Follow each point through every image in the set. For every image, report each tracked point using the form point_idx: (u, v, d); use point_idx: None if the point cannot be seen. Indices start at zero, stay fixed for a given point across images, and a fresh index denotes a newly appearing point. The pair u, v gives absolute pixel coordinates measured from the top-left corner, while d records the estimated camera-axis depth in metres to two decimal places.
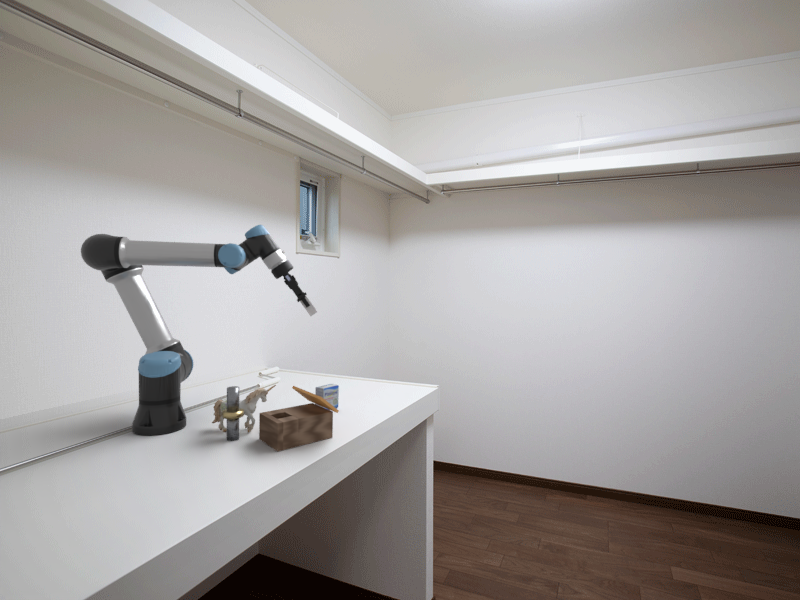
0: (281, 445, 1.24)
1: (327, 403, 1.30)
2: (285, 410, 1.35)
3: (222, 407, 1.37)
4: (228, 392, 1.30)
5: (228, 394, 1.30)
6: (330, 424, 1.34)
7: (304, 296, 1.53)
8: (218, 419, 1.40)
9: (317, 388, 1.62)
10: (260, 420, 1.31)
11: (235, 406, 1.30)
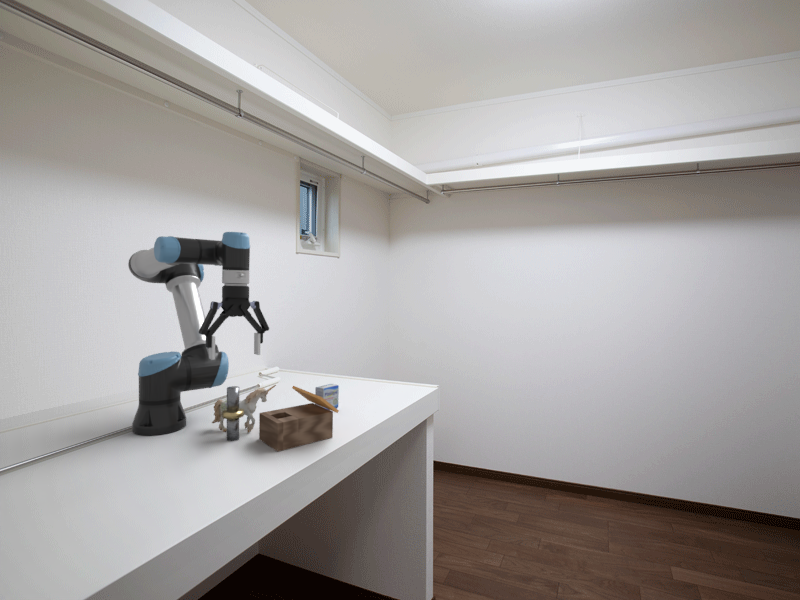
0: (281, 445, 1.24)
1: (327, 403, 1.30)
2: (285, 410, 1.35)
3: (222, 407, 1.37)
4: (228, 392, 1.30)
5: (228, 394, 1.30)
6: (330, 424, 1.34)
7: (207, 335, 1.25)
8: (218, 419, 1.40)
9: (317, 388, 1.62)
10: (260, 420, 1.31)
11: (235, 406, 1.30)
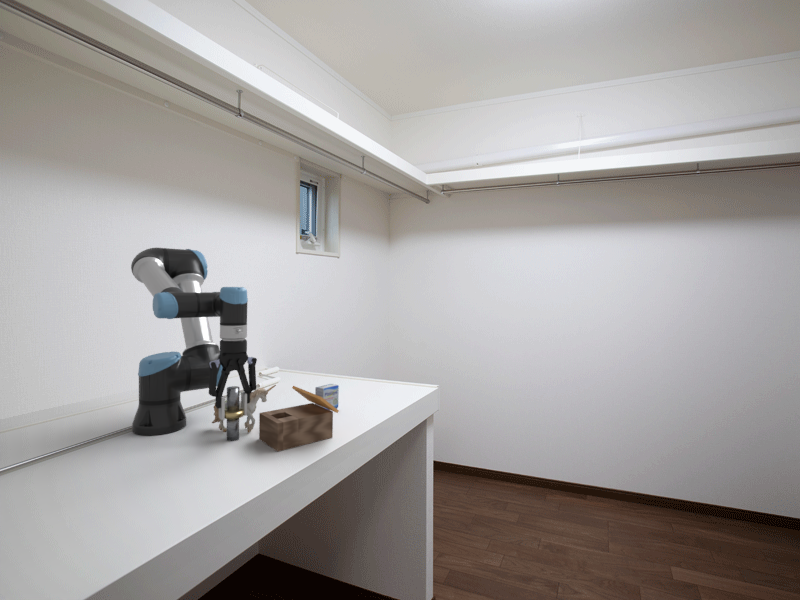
0: (281, 445, 1.24)
1: (327, 403, 1.30)
2: (285, 410, 1.35)
3: None
4: (228, 392, 1.30)
5: (228, 394, 1.30)
6: (330, 424, 1.34)
7: (217, 396, 1.27)
8: (218, 419, 1.40)
9: (317, 388, 1.62)
10: (260, 420, 1.31)
11: (235, 406, 1.30)
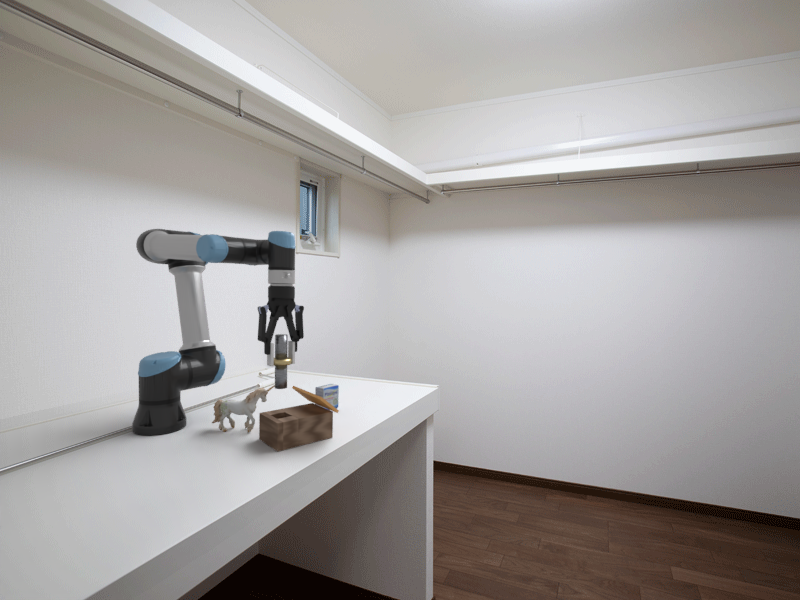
0: (281, 445, 1.24)
1: (327, 403, 1.30)
2: (285, 410, 1.35)
3: (222, 407, 1.37)
4: (277, 339, 1.27)
5: (277, 341, 1.27)
6: (330, 424, 1.34)
7: (266, 342, 1.25)
8: (218, 419, 1.40)
9: (317, 388, 1.62)
10: (260, 420, 1.31)
11: (284, 353, 1.28)
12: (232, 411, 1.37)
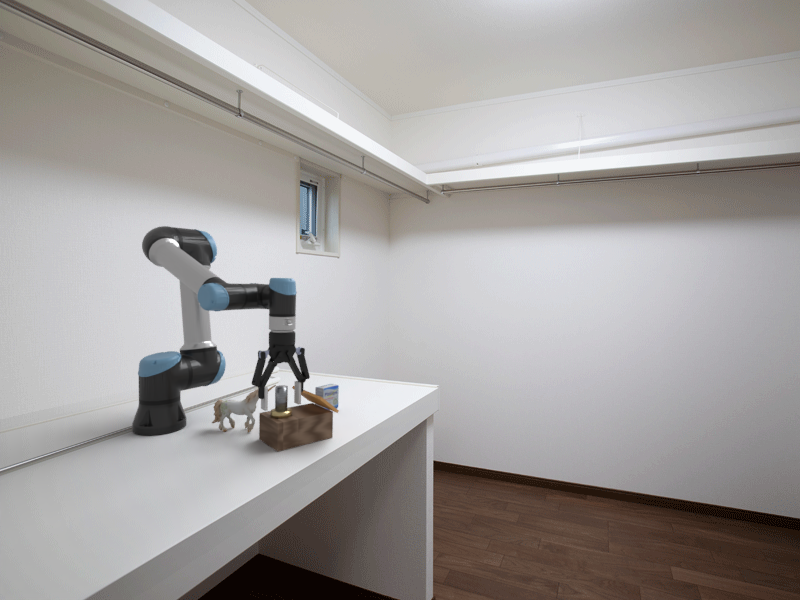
0: (281, 445, 1.24)
1: (327, 403, 1.30)
2: None
3: (222, 407, 1.37)
4: (277, 391, 1.28)
5: (277, 393, 1.28)
6: (330, 424, 1.34)
7: (260, 386, 1.24)
8: (218, 419, 1.40)
9: (317, 388, 1.62)
10: (260, 420, 1.31)
11: (284, 405, 1.28)
12: (232, 411, 1.37)
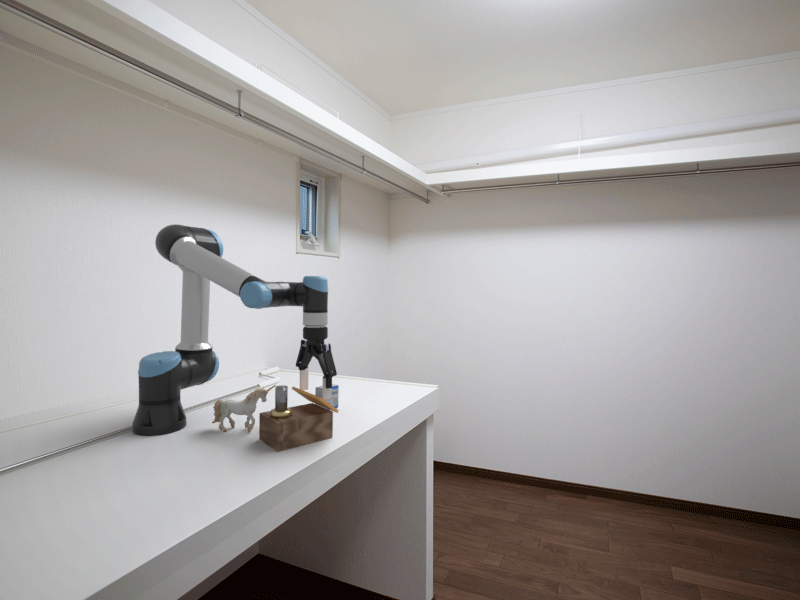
0: (281, 445, 1.24)
1: (327, 403, 1.30)
2: None
3: (222, 407, 1.37)
4: (277, 391, 1.28)
5: (277, 393, 1.28)
6: (330, 424, 1.34)
7: (332, 375, 1.31)
8: (218, 419, 1.40)
9: (317, 388, 1.62)
10: (260, 420, 1.31)
11: (284, 405, 1.28)
12: (232, 411, 1.37)
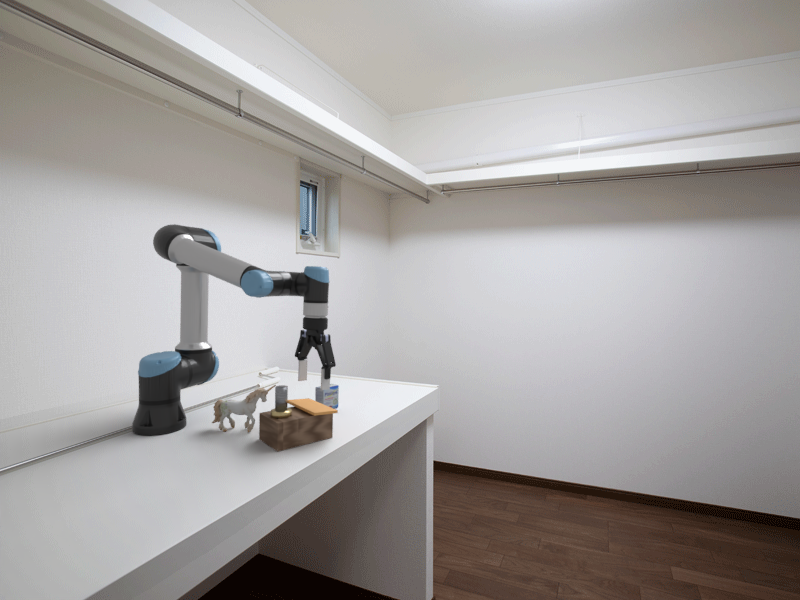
0: (281, 445, 1.24)
1: (323, 413, 1.29)
2: None
3: (222, 407, 1.37)
4: (277, 391, 1.28)
5: (277, 393, 1.28)
6: (330, 424, 1.34)
7: (331, 366, 1.31)
8: (218, 419, 1.40)
9: (317, 388, 1.62)
10: (260, 420, 1.31)
11: (284, 405, 1.28)
12: (232, 411, 1.37)
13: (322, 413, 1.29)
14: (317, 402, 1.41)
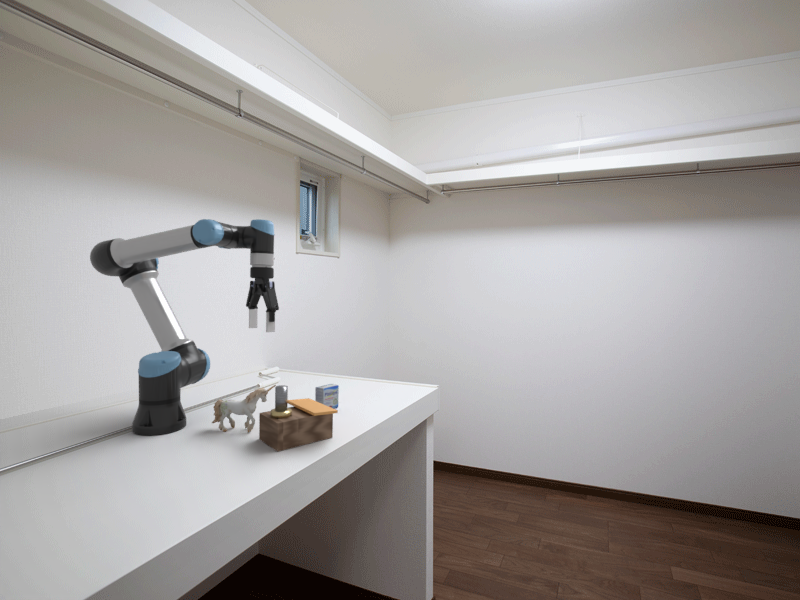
0: (281, 445, 1.24)
1: (323, 413, 1.29)
2: None
3: (222, 407, 1.37)
4: (277, 391, 1.28)
5: (277, 393, 1.28)
6: (330, 424, 1.34)
7: None
8: (218, 419, 1.40)
9: (317, 388, 1.62)
10: (260, 420, 1.31)
11: (284, 405, 1.28)
12: (232, 411, 1.37)
13: (322, 413, 1.29)
14: (317, 402, 1.41)
